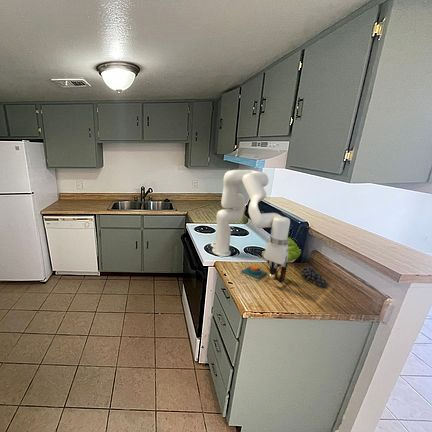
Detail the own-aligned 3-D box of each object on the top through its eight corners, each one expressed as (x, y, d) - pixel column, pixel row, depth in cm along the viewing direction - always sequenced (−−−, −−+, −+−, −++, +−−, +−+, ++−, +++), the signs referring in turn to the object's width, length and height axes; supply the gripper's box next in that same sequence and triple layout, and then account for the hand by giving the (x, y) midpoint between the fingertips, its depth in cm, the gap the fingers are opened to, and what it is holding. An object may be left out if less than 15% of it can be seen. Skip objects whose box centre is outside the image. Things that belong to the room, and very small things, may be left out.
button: (249, 269, 140) (249, 266, 140) (252, 267, 143) (253, 264, 142) (255, 272, 137) (256, 269, 137) (259, 269, 140) (259, 267, 139)
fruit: (333, 275, 123) (308, 261, 137) (319, 281, 123) (296, 267, 137) (333, 288, 126) (309, 274, 140) (320, 294, 126) (297, 279, 140)
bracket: (281, 288, 128) (285, 268, 124) (264, 281, 134) (267, 262, 131) (290, 281, 135) (294, 262, 132) (274, 275, 142) (277, 256, 138)
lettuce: (269, 270, 154) (258, 261, 170) (308, 260, 152) (294, 251, 168) (264, 249, 152) (254, 241, 167) (304, 238, 150) (290, 231, 165)
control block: (240, 274, 142) (241, 268, 141) (249, 269, 148) (250, 263, 147) (257, 281, 134) (258, 275, 133) (266, 275, 140) (267, 269, 139)
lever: (273, 281, 126) (273, 276, 124) (267, 278, 128) (267, 274, 127) (284, 267, 132) (285, 262, 131) (278, 265, 134) (278, 260, 133)
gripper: (297, 243, 118) (290, 277, 123) (266, 235, 129) (261, 266, 134) (291, 247, 114) (284, 281, 119) (259, 238, 125) (255, 270, 130)
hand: (272, 273), depth 126 cm, fingers closed
